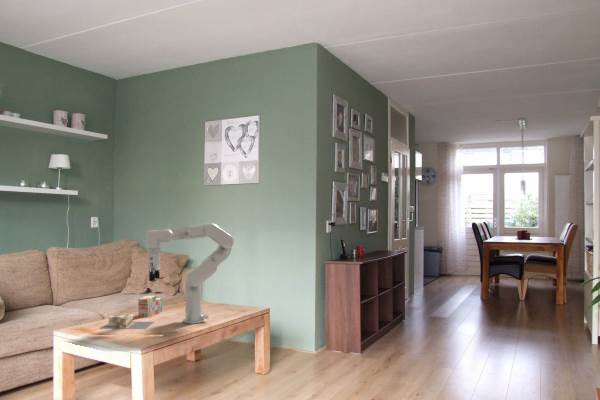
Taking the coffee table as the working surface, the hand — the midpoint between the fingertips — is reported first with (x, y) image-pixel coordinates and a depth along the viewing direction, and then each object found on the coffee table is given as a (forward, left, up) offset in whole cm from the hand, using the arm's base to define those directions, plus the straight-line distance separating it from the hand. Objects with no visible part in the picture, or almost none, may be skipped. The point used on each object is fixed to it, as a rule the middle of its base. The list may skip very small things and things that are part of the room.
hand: (154, 279), depth 296 cm
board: (+13, +7, -26) cm, 30 cm away
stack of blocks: (+10, -26, -27) cm, 38 cm away
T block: (+18, +7, -25) cm, 32 cm away
